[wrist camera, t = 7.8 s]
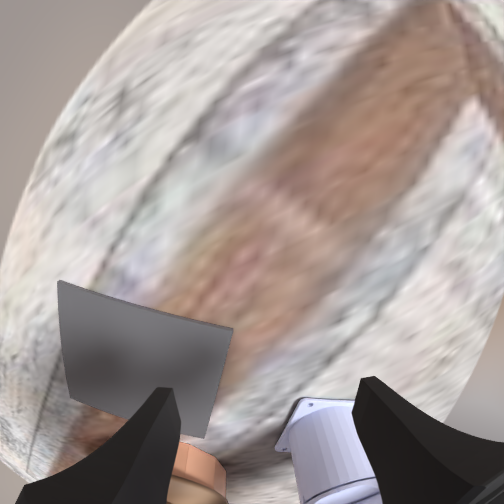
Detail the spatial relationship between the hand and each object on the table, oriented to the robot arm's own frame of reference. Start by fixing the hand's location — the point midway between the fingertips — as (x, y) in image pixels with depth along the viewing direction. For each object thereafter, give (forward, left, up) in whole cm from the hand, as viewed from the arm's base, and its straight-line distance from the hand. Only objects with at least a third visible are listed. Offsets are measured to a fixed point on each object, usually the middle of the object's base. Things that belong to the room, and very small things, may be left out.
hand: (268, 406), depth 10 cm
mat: (+8, +9, -10) cm, 16 cm away
